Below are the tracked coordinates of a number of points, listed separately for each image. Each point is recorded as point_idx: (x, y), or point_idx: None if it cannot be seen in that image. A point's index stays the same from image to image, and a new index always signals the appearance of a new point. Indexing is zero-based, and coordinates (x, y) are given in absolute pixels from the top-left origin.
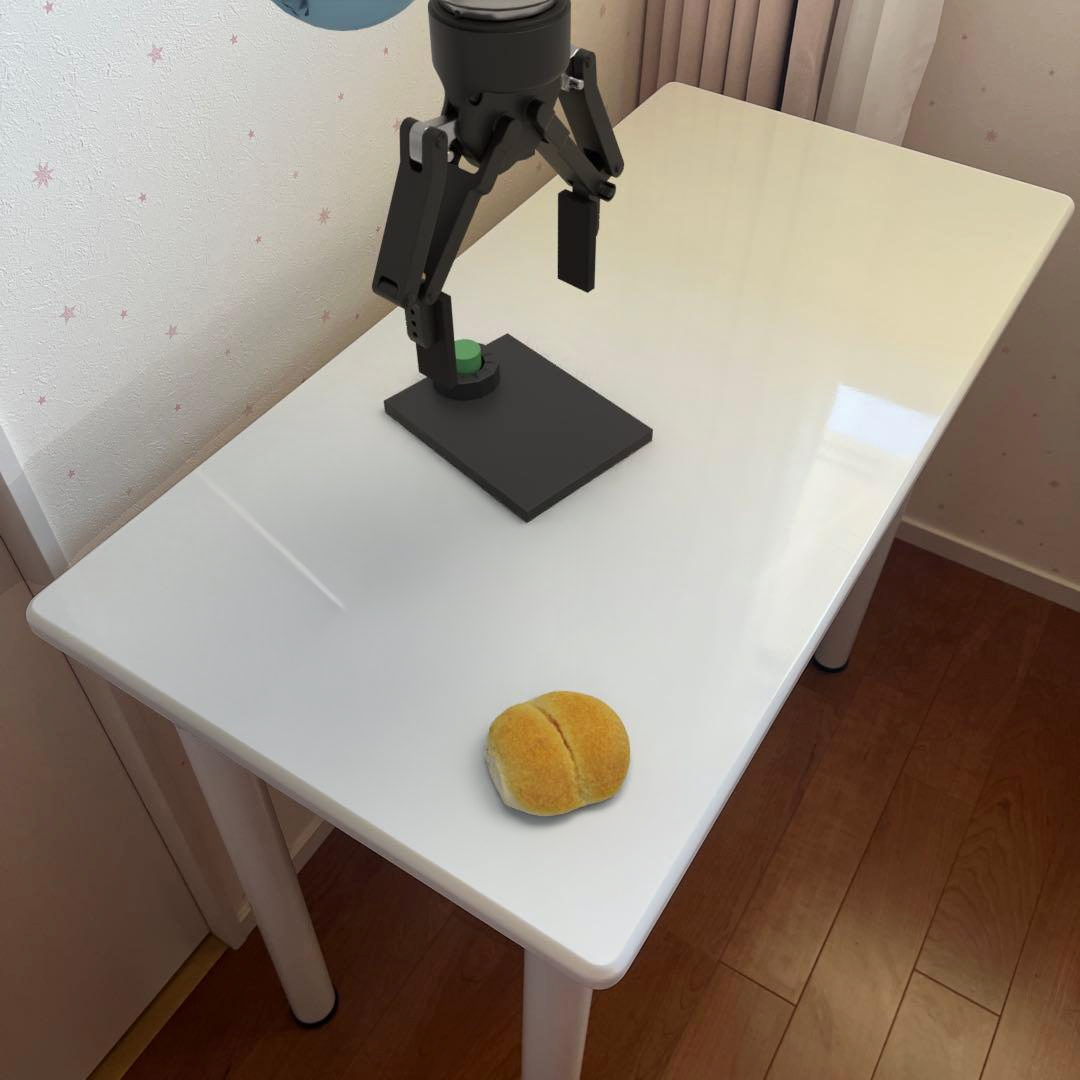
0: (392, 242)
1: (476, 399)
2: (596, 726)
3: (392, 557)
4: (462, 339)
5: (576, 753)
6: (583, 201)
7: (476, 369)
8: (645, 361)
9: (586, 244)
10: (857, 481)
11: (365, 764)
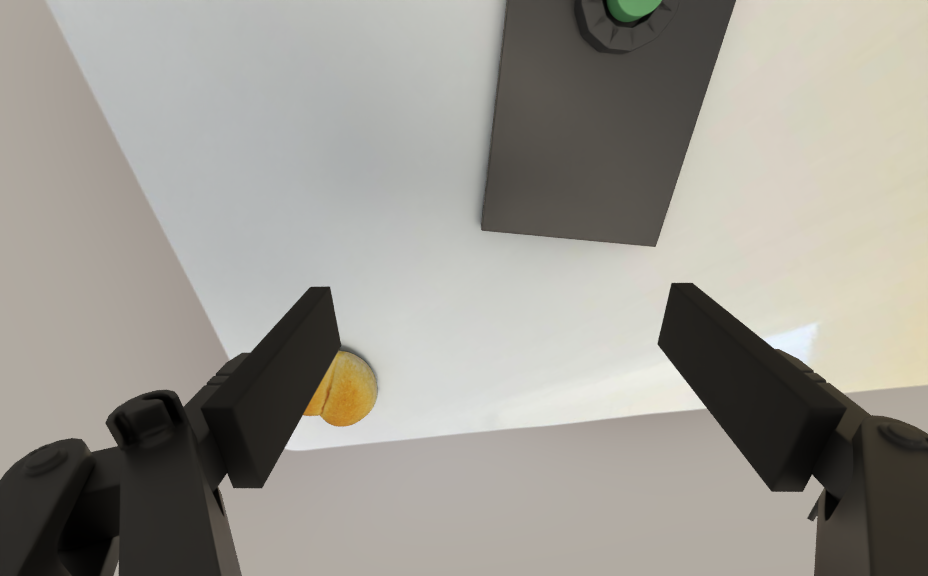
0: None
1: (593, 49)
2: (343, 417)
3: (360, 160)
4: None
5: (323, 414)
6: (794, 468)
7: (627, 21)
8: (776, 152)
9: (710, 405)
10: (688, 387)
11: (230, 297)
